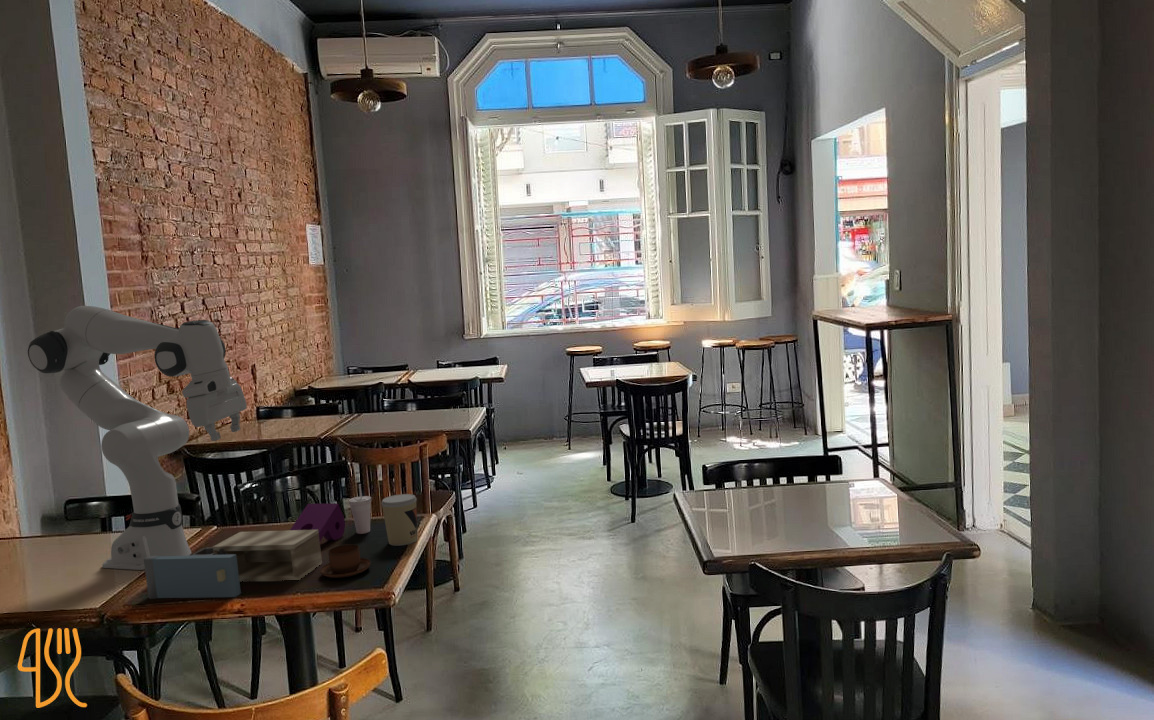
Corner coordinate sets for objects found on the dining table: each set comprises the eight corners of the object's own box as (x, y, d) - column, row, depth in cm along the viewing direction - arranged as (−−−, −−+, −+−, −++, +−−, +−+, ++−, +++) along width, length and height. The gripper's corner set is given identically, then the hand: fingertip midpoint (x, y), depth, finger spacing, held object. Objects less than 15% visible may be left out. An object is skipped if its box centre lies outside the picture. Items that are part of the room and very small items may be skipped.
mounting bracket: (319, 574, 230) (348, 526, 245) (307, 550, 226) (338, 503, 241) (287, 573, 233) (318, 526, 248) (275, 550, 228) (308, 503, 243)
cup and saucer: (310, 580, 206) (307, 556, 206) (341, 564, 218) (338, 540, 217) (351, 583, 202) (348, 558, 201) (381, 566, 213) (378, 542, 213)
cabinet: (193, 589, 207) (188, 553, 206) (233, 565, 223) (229, 532, 222) (288, 588, 202) (283, 551, 201) (322, 563, 218) (318, 529, 218)
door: (143, 600, 202) (137, 561, 201) (154, 594, 206) (149, 555, 205) (232, 599, 198) (227, 559, 197) (242, 592, 202) (237, 553, 201)
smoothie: (363, 536, 241) (357, 487, 239) (347, 534, 244) (341, 486, 243) (379, 529, 246) (374, 481, 245) (363, 527, 249) (358, 480, 248)
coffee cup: (416, 545, 228) (412, 501, 227) (382, 547, 228) (377, 504, 227) (423, 534, 237) (419, 492, 236) (390, 537, 237) (385, 495, 236)
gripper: (223, 378, 226) (236, 428, 228) (177, 392, 206) (192, 447, 208) (245, 373, 225) (258, 424, 227) (201, 388, 205) (216, 443, 207)
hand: (226, 435), depth 217 cm, fingers open, 8 cm apart
